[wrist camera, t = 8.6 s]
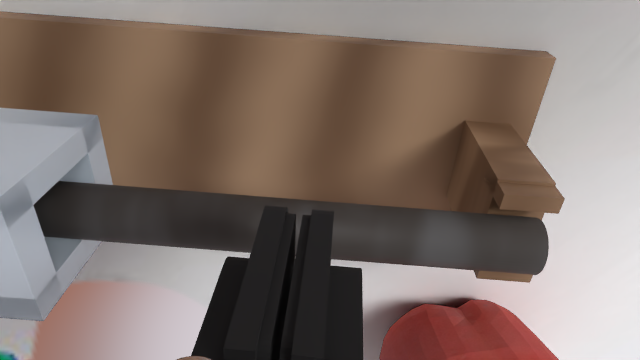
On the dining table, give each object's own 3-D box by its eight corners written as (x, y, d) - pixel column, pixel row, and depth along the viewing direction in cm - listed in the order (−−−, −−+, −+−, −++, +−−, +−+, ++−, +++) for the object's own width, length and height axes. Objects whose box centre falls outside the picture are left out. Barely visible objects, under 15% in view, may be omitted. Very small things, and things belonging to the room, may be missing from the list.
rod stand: (546, 51, 19) (682, 149, 11) (486, 235, 24) (552, 388, 17) (-126, 2, 19) (-437, 65, 12) (-42, 195, 25) (-218, 325, 17)
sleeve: (97, 115, 17) (-4, 199, 12) (119, 216, 20) (43, 321, 15) (-32, 105, 17) (-186, 185, 12) (6, 207, 20) (-108, 309, 15)
